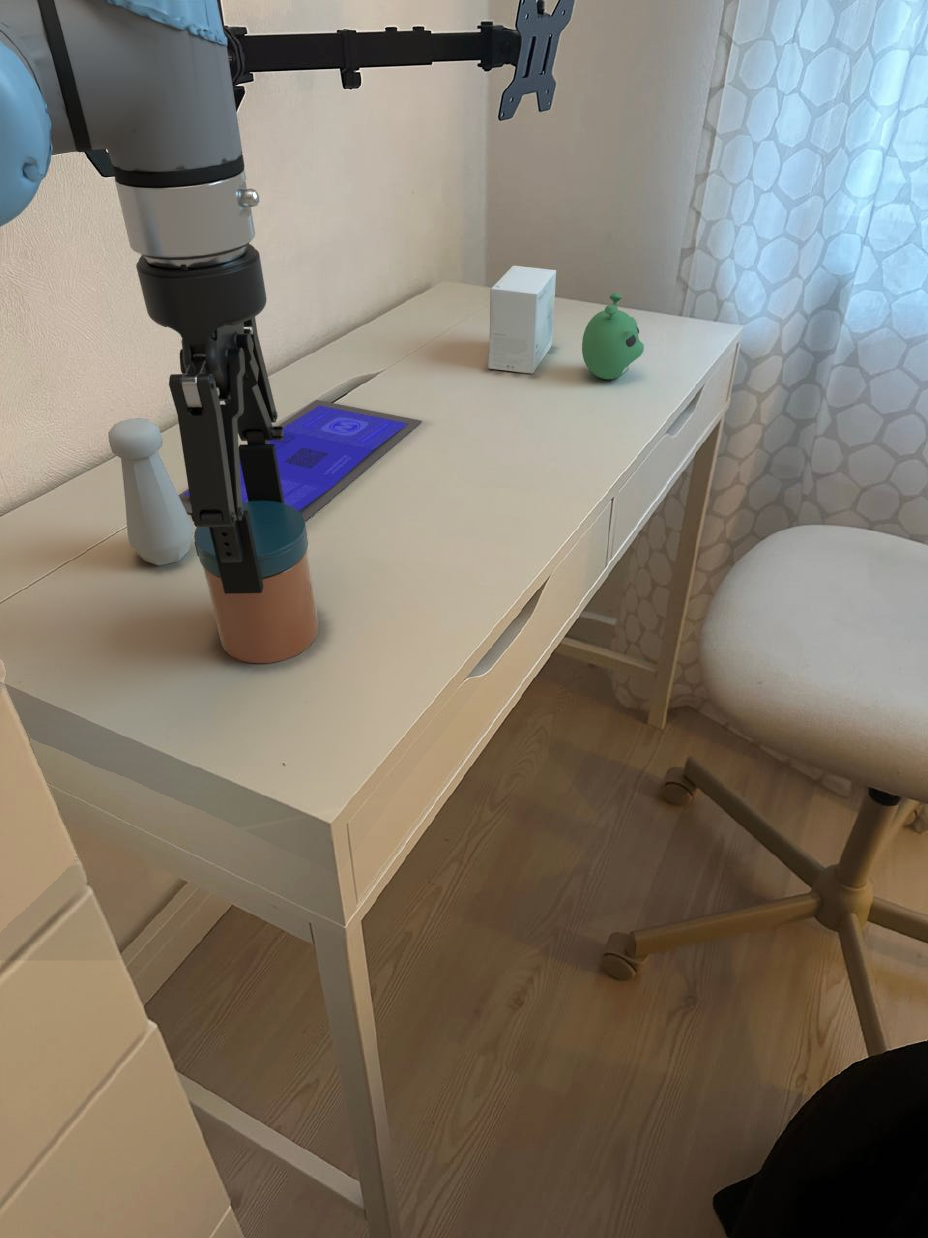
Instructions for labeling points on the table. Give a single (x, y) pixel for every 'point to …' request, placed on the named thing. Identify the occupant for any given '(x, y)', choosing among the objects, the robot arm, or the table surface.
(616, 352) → the alien toy
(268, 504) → the jar lid
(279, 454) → the booklet
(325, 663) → the table surface
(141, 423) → the salt shaker
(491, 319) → the cosmetics box
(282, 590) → the jar
